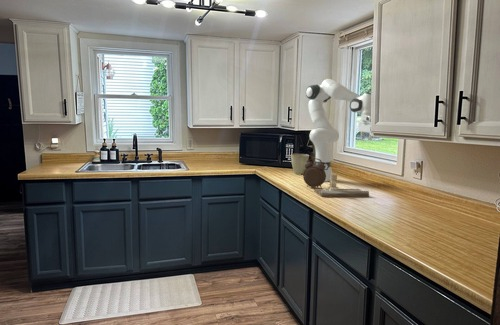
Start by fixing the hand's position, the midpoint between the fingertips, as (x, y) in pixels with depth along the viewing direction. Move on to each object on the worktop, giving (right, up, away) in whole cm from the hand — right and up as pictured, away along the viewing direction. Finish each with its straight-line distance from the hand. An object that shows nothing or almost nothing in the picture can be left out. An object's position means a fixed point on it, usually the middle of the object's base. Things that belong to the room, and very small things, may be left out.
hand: (366, 139), depth 229 cm
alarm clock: (-33, -32, +7) cm, 47 cm away
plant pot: (-35, -25, +61) cm, 75 cm away
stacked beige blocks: (-25, -33, -13) cm, 43 cm away
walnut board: (-19, -35, -10) cm, 41 cm away
